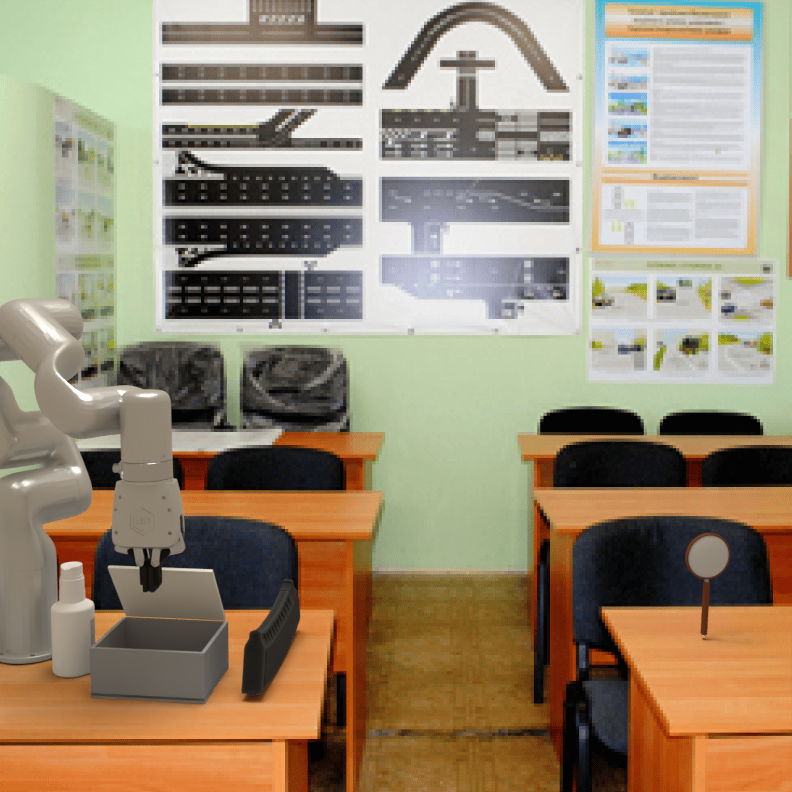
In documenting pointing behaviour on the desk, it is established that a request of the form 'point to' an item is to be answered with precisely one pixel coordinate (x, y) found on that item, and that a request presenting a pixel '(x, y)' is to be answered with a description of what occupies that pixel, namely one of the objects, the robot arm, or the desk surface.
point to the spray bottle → (72, 624)
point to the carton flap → (170, 594)
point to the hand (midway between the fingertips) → (151, 589)
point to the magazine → (271, 641)
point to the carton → (159, 660)
